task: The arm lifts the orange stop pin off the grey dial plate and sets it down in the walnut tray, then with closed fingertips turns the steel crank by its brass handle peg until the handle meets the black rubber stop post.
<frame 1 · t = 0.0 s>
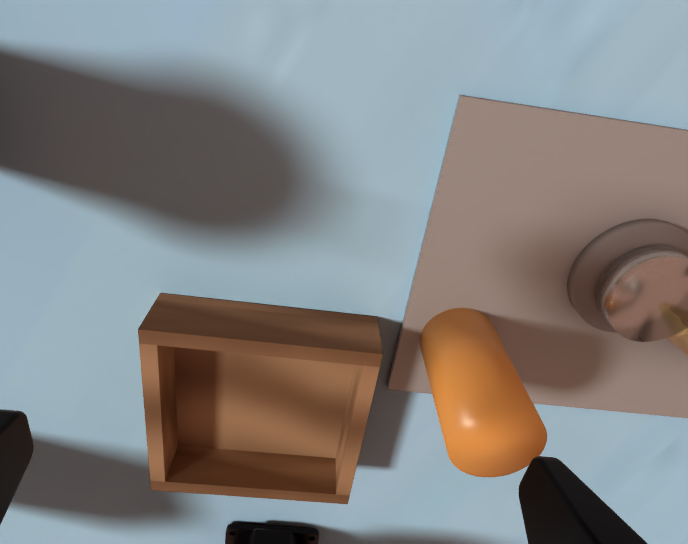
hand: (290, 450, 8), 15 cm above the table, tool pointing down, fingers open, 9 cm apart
dial plate: (624, 288, 24), on the table
stop pin: (456, 338, 25), resting on dial plate
tray: (264, 386, 27), on the table
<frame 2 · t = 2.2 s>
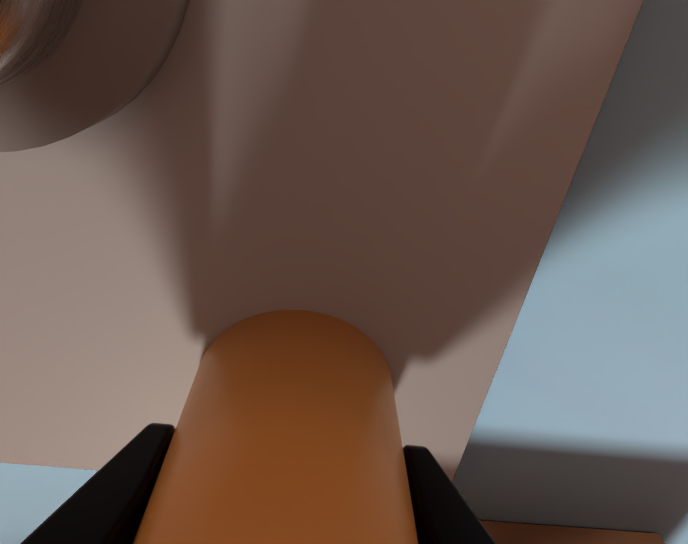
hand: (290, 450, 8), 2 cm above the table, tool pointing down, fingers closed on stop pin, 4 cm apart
stop pin: (295, 390, 10), resting on dial plate, touching gripper
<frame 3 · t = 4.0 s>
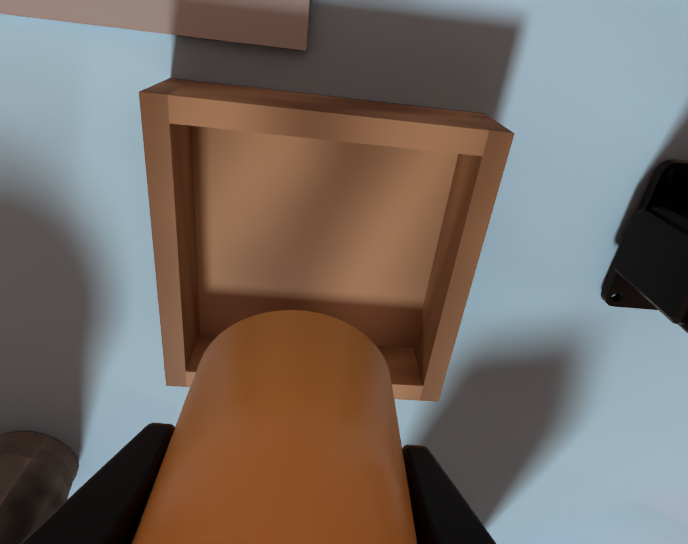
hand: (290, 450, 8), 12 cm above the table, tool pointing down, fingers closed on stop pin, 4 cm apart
beverage cup: (36, 457, 25), on the table
stop pin: (294, 390, 10), point 10 cm above the table, touching gripper
tray: (318, 238, 19), on the table
when the fingers open (4 cm above the table, at t = 6.0 s): stop pin drops 1 cm, resting on tray.
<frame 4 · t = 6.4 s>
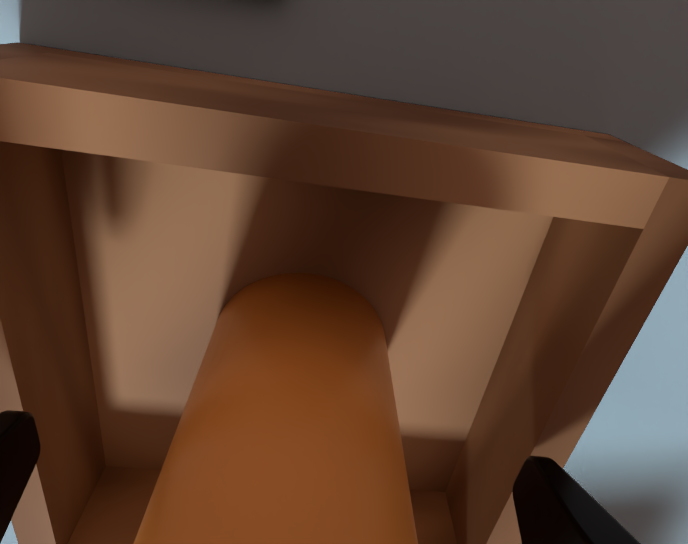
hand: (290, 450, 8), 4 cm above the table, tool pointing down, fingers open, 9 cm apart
stop pin: (300, 346, 11), point 1 cm above the table, touching tray
tray: (299, 330, 12), on the table
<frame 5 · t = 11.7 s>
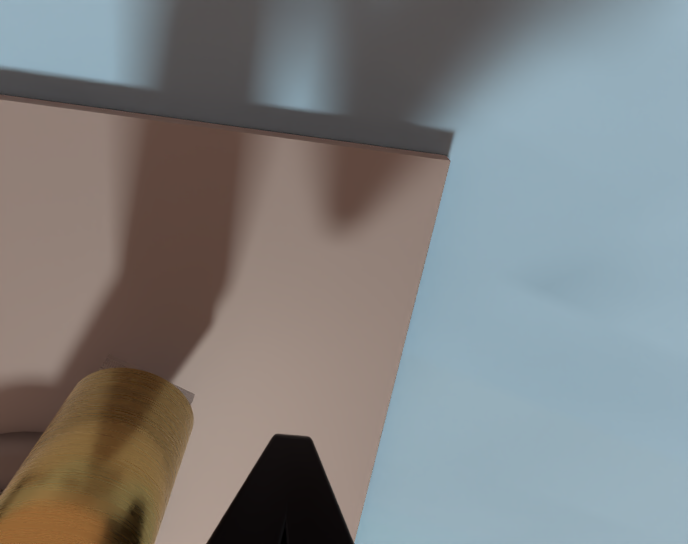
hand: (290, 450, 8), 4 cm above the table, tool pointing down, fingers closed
dial plate: (96, 483, 14), on the table
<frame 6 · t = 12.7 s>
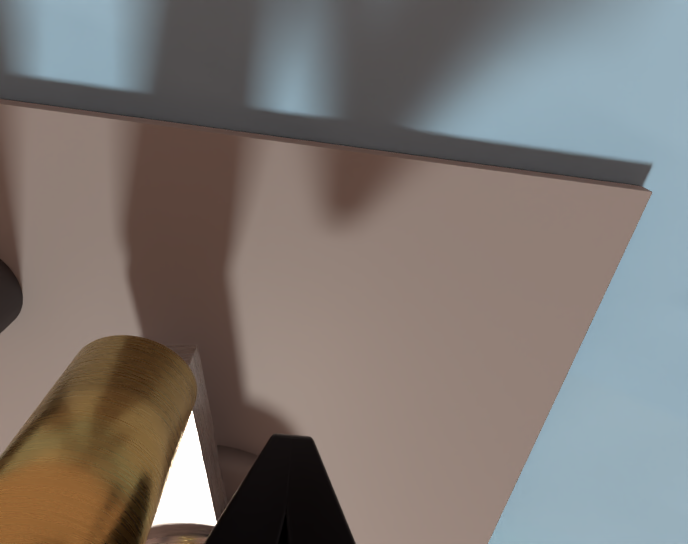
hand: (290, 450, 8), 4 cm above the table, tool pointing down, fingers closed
dial plate: (245, 493, 15), on the table
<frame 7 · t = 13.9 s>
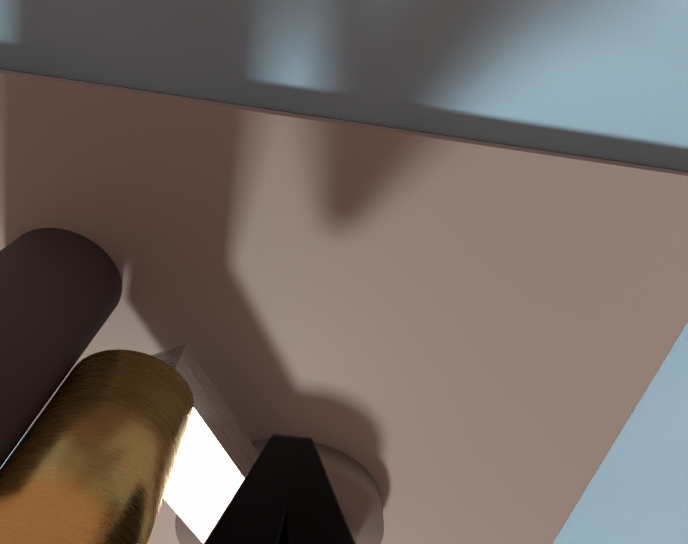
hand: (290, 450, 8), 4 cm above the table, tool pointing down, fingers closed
stop post: (74, 269, 11), resting on dial plate
dial plate: (318, 487, 15), on the table
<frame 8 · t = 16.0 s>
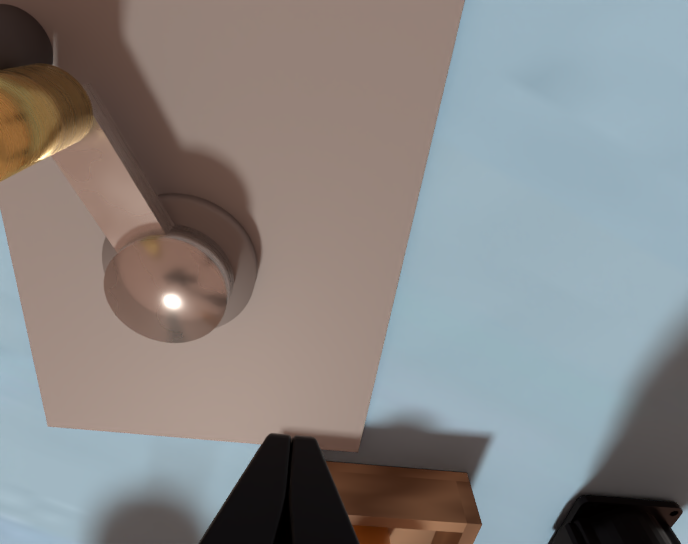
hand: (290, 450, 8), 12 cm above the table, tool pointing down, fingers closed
crank: (103, 240, 15), point 4 cm above the table, hinge at -61.4°
stop post: (21, 45, 16), resting on dial plate
dial plate: (211, 250, 20), on the table
stop pin: (356, 535, 29), point 1 cm above the table, touching tray
tray: (355, 525, 29), on the table
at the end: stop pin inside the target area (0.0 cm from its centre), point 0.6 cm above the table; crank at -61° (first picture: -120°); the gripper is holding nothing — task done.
